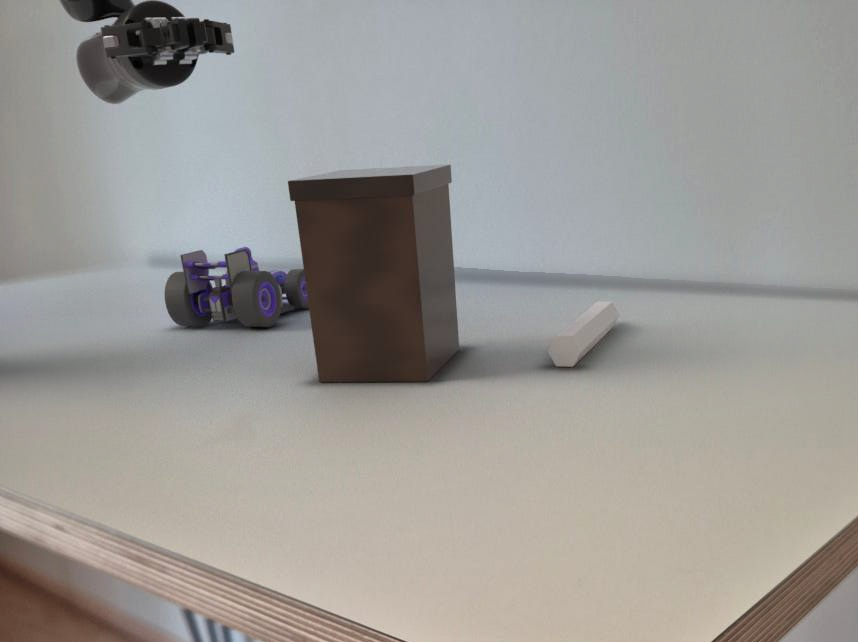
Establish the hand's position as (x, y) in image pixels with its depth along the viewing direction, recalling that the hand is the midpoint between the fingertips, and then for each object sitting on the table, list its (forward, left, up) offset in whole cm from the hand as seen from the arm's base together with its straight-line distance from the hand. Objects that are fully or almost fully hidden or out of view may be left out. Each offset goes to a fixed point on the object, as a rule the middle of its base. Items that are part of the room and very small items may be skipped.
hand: (191, 31), depth 87 cm
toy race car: (+4, -5, -24) cm, 25 cm away
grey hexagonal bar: (+38, -19, -24) cm, 49 cm away
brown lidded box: (+24, -26, -24) cm, 43 cm away
